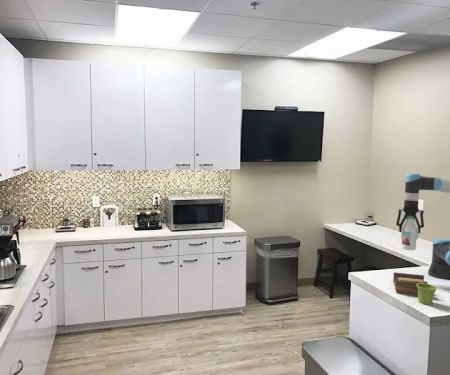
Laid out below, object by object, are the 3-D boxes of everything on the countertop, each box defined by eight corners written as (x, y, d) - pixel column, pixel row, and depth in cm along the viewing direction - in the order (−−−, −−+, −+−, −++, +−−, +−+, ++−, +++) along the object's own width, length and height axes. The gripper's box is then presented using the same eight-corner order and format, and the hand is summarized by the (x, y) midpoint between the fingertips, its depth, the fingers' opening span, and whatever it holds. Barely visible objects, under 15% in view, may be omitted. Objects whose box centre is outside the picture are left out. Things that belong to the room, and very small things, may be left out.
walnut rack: (393, 282, 239) (393, 270, 238) (423, 285, 234) (423, 273, 233) (396, 293, 220) (396, 281, 219) (428, 297, 215) (429, 284, 214)
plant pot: (419, 297, 214) (420, 281, 213) (438, 303, 207) (439, 286, 206) (412, 302, 208) (413, 285, 207) (431, 307, 201) (432, 290, 200)
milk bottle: (411, 247, 245) (413, 214, 243) (418, 250, 237) (420, 216, 236) (399, 247, 245) (401, 214, 243) (405, 250, 237) (407, 216, 235)
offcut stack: (397, 290, 225) (398, 277, 224) (423, 293, 221) (424, 280, 221) (398, 293, 221) (399, 279, 220) (424, 295, 217) (425, 282, 217)
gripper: (393, 199, 238) (391, 238, 240) (431, 201, 232) (429, 241, 234) (392, 198, 245) (390, 235, 247) (429, 200, 239) (427, 238, 241)
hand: (409, 238), depth 240 cm, fingers closed on milk bottle, 7 cm apart
